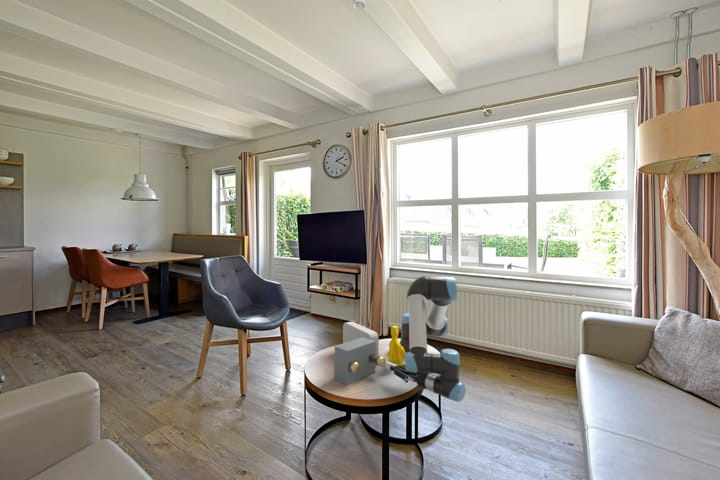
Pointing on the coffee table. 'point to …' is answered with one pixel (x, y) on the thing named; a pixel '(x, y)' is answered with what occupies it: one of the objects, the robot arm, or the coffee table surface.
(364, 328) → the rounded white slab
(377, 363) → the knob
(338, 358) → the knob housing
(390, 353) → the figure statuette
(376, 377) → the coffee table surface
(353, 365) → the knob
